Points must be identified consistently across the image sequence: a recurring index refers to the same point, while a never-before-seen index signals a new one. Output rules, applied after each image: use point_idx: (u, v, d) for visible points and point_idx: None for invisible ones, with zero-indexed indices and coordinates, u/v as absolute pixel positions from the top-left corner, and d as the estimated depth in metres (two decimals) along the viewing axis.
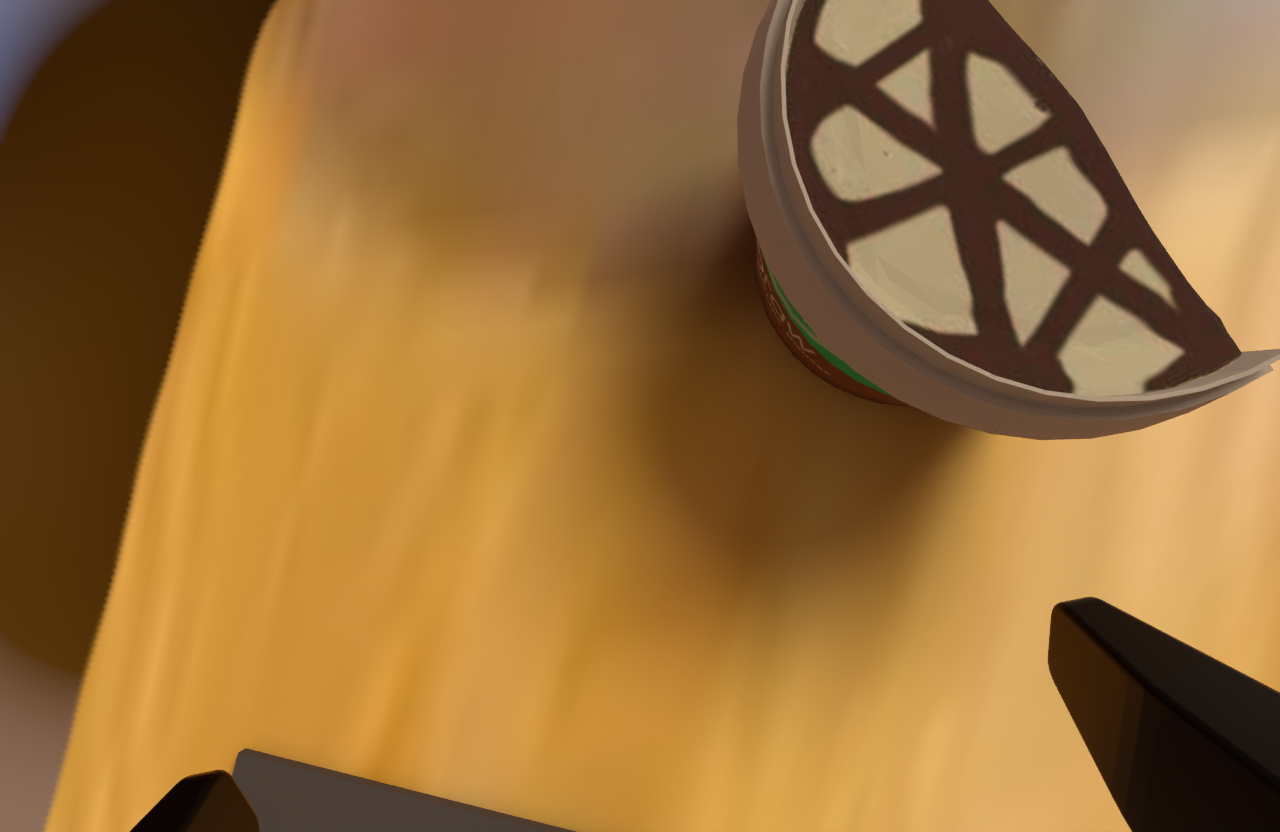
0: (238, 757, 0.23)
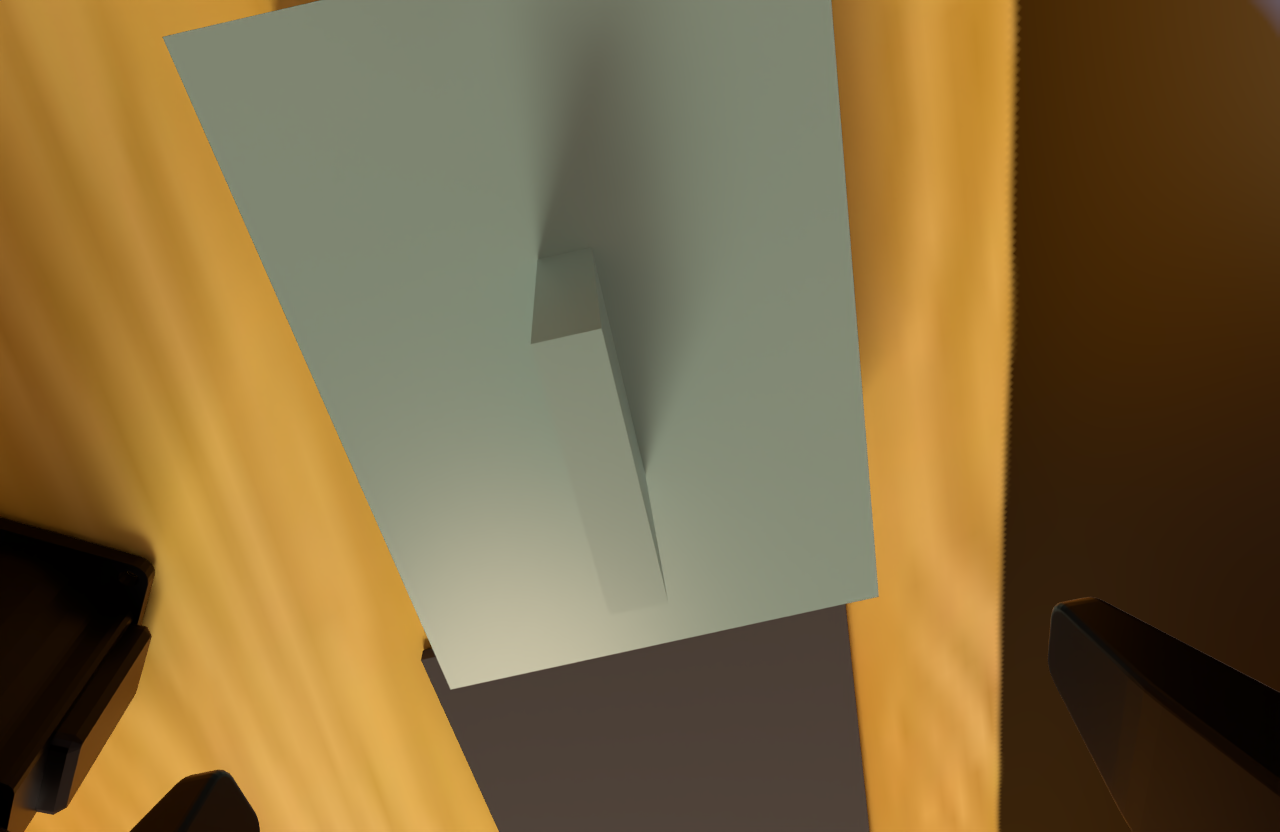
0: None
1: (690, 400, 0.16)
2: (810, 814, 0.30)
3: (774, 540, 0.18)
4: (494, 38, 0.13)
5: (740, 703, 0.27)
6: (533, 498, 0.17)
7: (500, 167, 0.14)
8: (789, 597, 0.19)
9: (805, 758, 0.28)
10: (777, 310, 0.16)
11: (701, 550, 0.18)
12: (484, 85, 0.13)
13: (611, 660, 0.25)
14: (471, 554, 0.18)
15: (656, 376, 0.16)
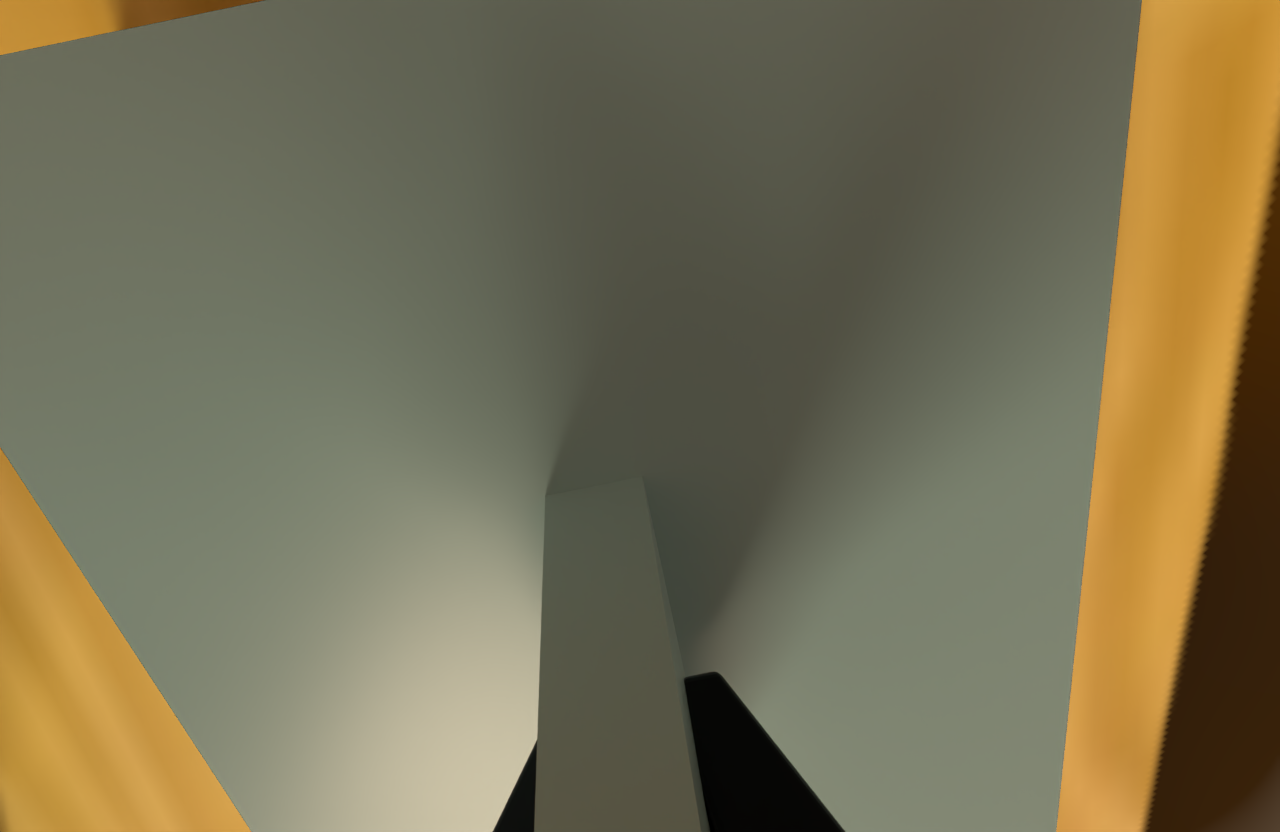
0: None
1: (793, 695, 0.10)
2: None
3: None
4: (470, 114, 0.06)
5: None
6: None
7: (480, 347, 0.07)
8: None
9: None
10: (953, 568, 0.09)
11: None
12: (450, 203, 0.07)
13: None
14: None
15: (740, 664, 0.09)
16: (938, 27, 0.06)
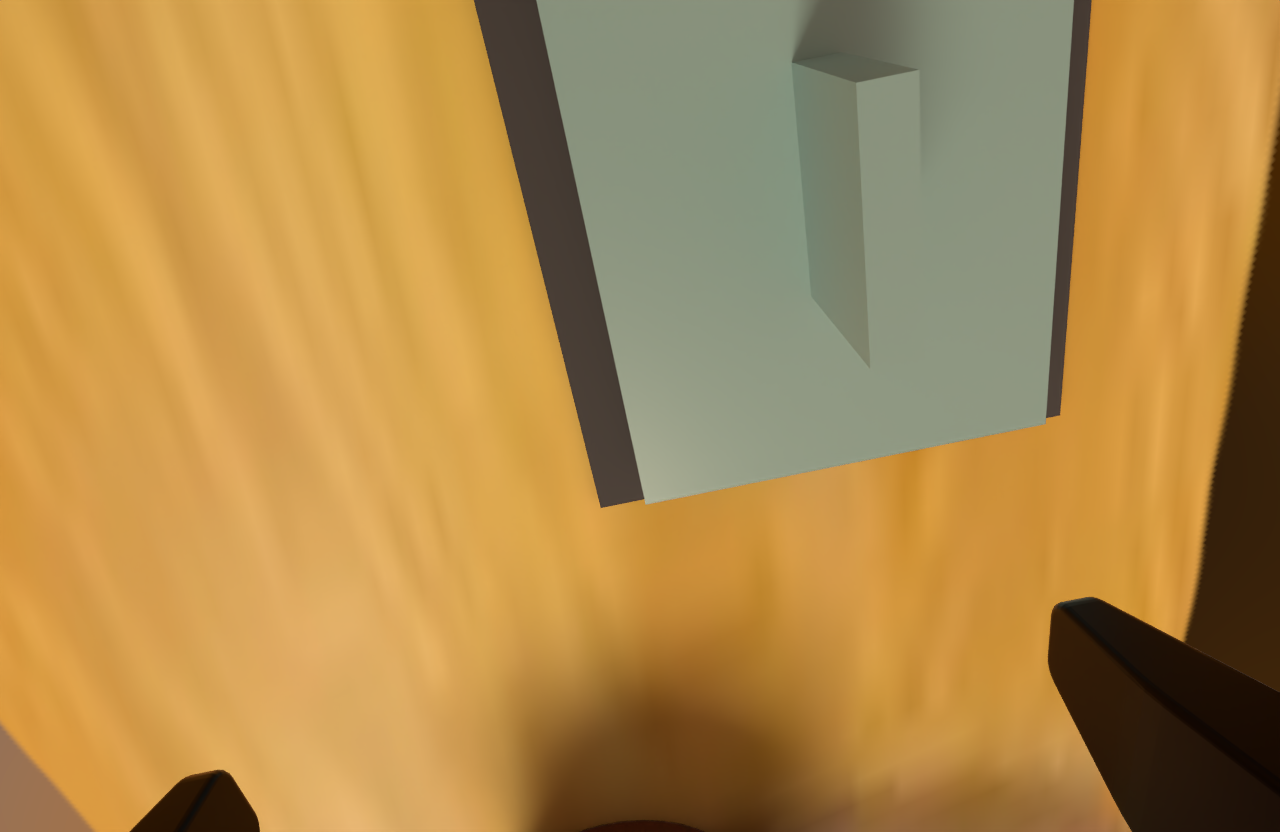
0: (1059, 412, 0.22)
1: None
2: None
3: (960, 361, 0.20)
4: None
5: None
6: (750, 307, 0.18)
7: None
8: (965, 421, 0.20)
9: None
10: (996, 123, 0.17)
11: (893, 368, 0.19)
12: None
13: None
14: (686, 363, 0.19)
15: None
16: None
